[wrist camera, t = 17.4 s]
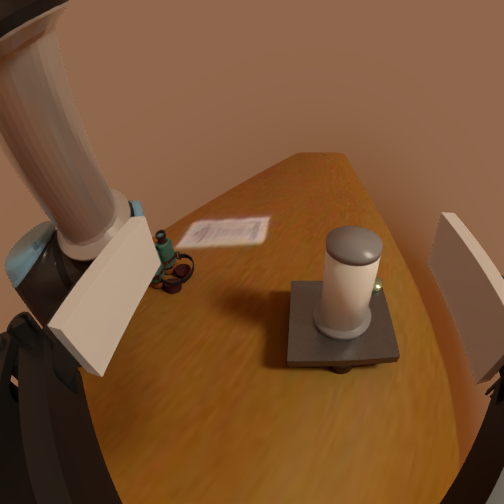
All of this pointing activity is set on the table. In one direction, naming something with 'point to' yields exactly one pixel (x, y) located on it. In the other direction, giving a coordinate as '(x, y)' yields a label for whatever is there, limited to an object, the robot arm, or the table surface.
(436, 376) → the table surface
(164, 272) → the binoculars
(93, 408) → the table surface
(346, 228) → the white flanged cylinder
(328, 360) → the stand
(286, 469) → the table surface
